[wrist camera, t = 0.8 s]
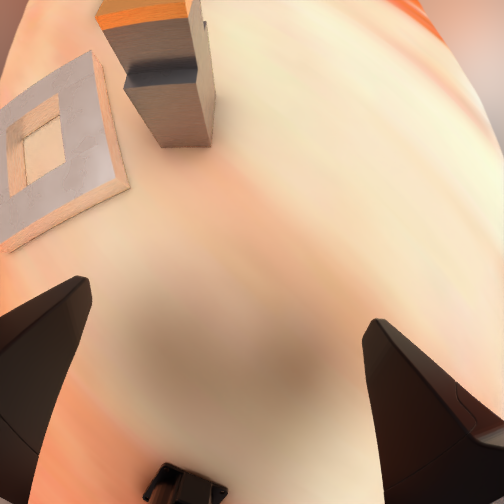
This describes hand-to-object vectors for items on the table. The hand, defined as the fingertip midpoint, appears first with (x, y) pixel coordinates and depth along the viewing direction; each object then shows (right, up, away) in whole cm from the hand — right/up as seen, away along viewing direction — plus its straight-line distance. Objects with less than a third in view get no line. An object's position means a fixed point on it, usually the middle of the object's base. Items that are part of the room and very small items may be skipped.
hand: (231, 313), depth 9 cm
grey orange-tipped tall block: (-4, +13, +14) cm, 19 cm away
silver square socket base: (-18, +11, +13) cm, 25 cm away
